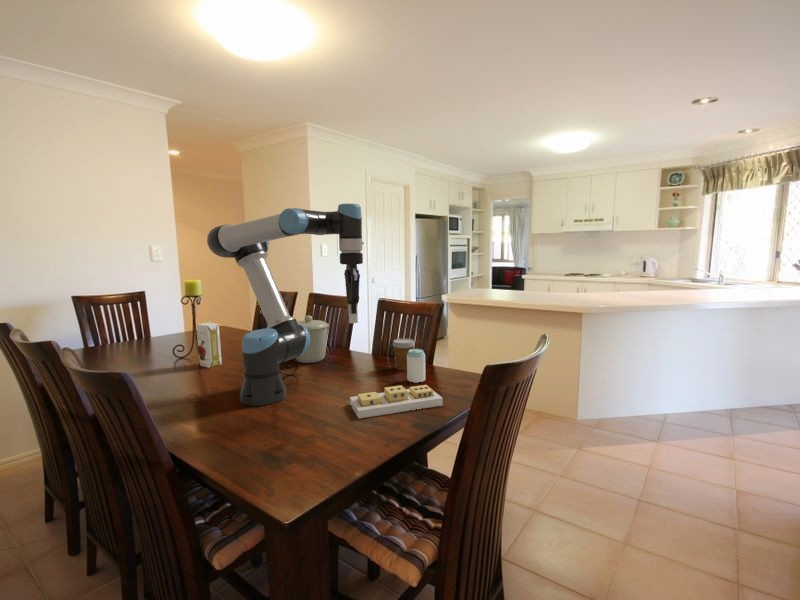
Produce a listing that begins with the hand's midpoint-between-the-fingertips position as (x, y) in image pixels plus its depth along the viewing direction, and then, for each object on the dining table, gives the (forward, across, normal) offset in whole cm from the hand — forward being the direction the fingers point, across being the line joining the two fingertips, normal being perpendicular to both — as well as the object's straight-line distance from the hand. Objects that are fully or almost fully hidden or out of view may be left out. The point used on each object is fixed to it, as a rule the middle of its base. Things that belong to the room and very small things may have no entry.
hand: (353, 322), depth 135 cm
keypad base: (+26, -11, -11) cm, 31 cm away
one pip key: (+26, -11, -2) cm, 28 cm away
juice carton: (+27, +63, +52) cm, 86 cm away
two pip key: (+25, -11, -11) cm, 29 cm away
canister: (+27, +54, +9) cm, 61 cm away
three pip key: (+26, -11, -20) cm, 34 cm away
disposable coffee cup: (+27, +26, -27) cm, 46 cm away
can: (+27, +9, -26) cm, 38 cm away
